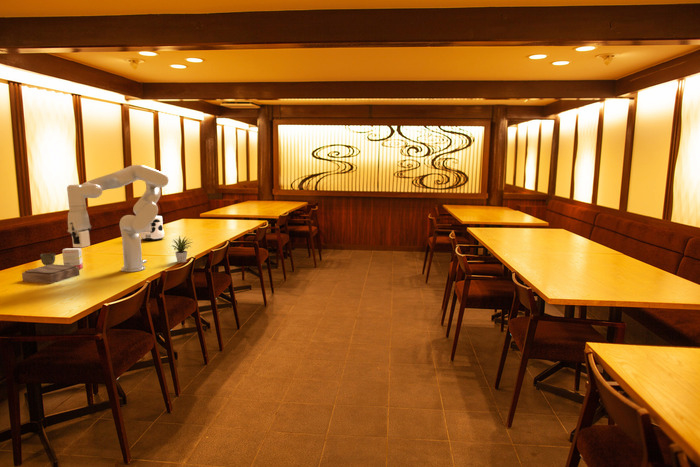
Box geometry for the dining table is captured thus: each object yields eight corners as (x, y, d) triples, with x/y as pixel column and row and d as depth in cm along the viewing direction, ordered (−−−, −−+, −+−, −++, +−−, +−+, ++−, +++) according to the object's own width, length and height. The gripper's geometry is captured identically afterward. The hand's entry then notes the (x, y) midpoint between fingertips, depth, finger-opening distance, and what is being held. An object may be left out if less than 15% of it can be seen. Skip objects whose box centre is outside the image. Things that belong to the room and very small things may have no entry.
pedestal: (51, 272, 253) (51, 263, 253) (79, 274, 250) (78, 265, 249) (22, 281, 236) (21, 271, 235) (52, 283, 232) (51, 273, 232)
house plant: (185, 265, 274) (183, 238, 272) (164, 264, 277) (163, 237, 274) (197, 260, 288) (196, 234, 285) (177, 259, 291) (176, 233, 288)
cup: (43, 266, 268) (41, 253, 266) (57, 265, 270) (56, 252, 269) (39, 269, 261) (38, 255, 259) (54, 268, 263) (53, 254, 262)
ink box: (83, 267, 266) (81, 247, 264) (80, 269, 262) (78, 249, 260) (67, 267, 265) (65, 248, 263) (63, 269, 260) (61, 249, 258)
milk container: (160, 236, 368) (159, 214, 365) (167, 240, 355) (166, 217, 352) (137, 239, 357) (136, 216, 354) (144, 242, 344) (143, 219, 341)
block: (81, 244, 243) (79, 230, 242) (90, 245, 242) (88, 230, 240) (73, 247, 238) (71, 232, 236) (82, 247, 237) (80, 232, 235)
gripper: (84, 206, 245) (87, 239, 248) (58, 210, 229) (62, 245, 232) (96, 206, 244) (99, 239, 247) (70, 210, 227) (74, 246, 230)
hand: (81, 242), depth 239 cm, fingers closed on block, 5 cm apart
